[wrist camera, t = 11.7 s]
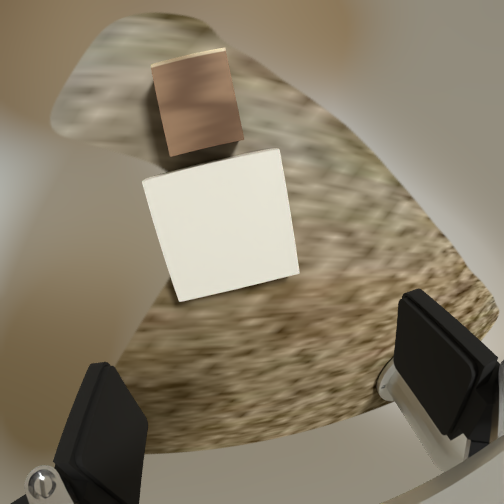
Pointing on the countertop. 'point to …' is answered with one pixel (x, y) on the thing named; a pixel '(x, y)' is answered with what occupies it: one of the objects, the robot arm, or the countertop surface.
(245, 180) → the cutting board
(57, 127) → the countertop surface
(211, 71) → the two-tone wooden block
